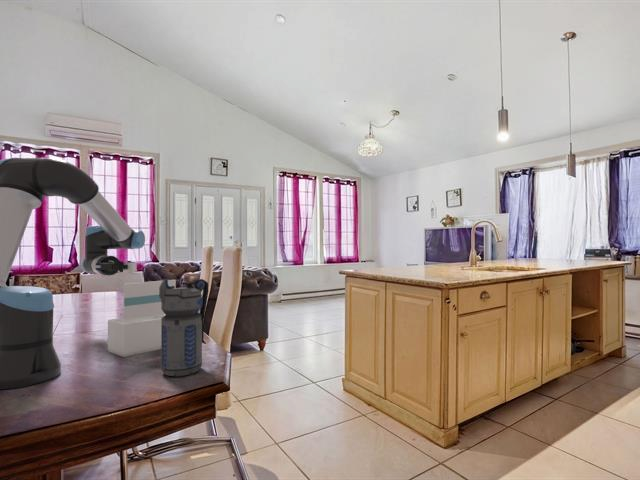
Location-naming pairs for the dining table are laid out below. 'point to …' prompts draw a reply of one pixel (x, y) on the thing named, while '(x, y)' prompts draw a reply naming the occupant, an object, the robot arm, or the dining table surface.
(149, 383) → the dining table surface
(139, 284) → the lid
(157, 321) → the box
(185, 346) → the beverage bottle
